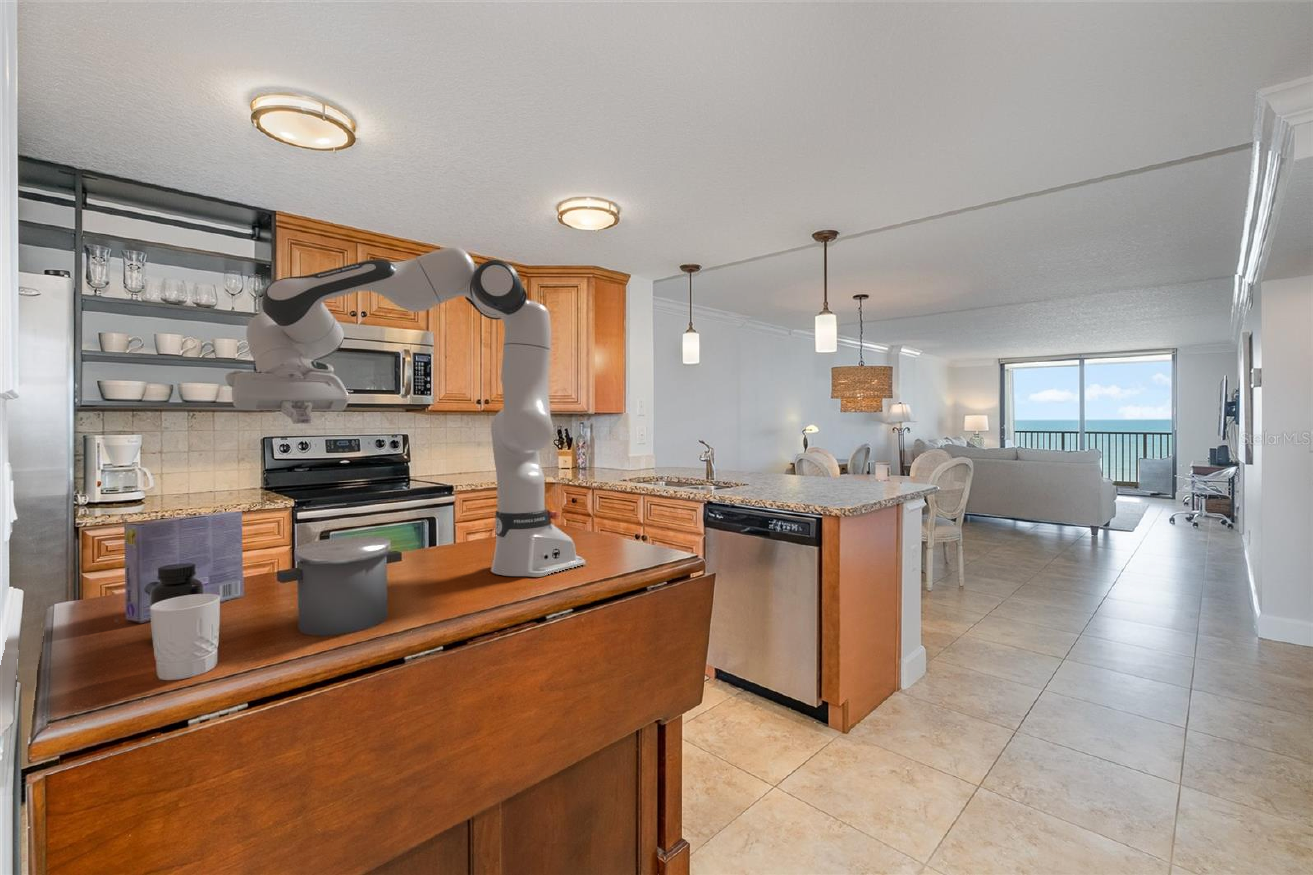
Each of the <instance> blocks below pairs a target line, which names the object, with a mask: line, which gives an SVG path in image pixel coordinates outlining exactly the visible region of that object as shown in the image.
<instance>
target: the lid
mask: <svg viewBox="0 0 1313 875" xmlns="http://www.w3.org/2000/svg"><path fill="white" fill-rule="evenodd" d="M391 542H392V541H391V540H390V539H389V538H386V537H380V536H363V535H362V536H360V535H359V536H343V537H336V538H335V537H334V538H327V539H320V540H315V541H311V542H307V543H304V544H301V545H298V546H296V547H295V548H294V561H295V562H296V563H297V562H300V563H305V564H339V563H349V562H357V561H363V560H368V559H372V558H376V557H380V556H383V555H385V554H387V553H389V552H391V551H392V548H391V547H392V544H391Z"/></svg>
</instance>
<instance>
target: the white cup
mask: <svg viewBox="0 0 1313 875" xmlns="http://www.w3.org/2000/svg"><path fill="white" fill-rule="evenodd" d="M220 610H221V602H220V596H219V595H216V594H194V595H186V596H180V597H175V598H170V599H166V600H163V601H160V602H157V603H155V604H153V605H151V606H150V617H151V620H150V630H151V629H152V640H153V642H152V647H153V656H154V659H155V665H156V675H157V677H158V679H159V680H162V681H177V680H183V679H185V680H186V679H189V678H194V677H197V676H199V675H204V674H206V673H208V672H209V671H212V670H213V669H214V668H216V666H218V646H219V641H220V639H219V634H220V615H221V614H220V613H221V611H220ZM152 640H151V641H152Z"/></svg>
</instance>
